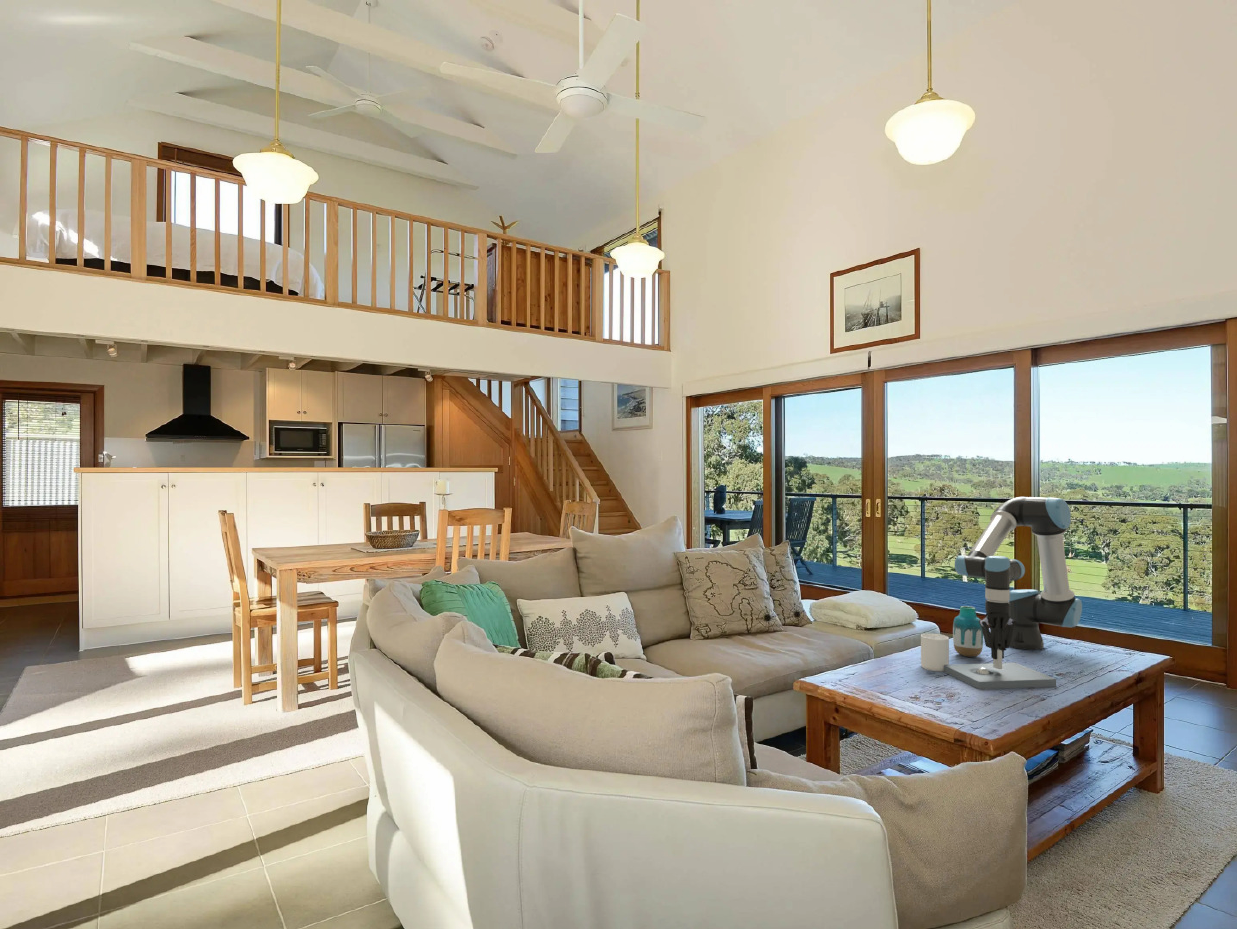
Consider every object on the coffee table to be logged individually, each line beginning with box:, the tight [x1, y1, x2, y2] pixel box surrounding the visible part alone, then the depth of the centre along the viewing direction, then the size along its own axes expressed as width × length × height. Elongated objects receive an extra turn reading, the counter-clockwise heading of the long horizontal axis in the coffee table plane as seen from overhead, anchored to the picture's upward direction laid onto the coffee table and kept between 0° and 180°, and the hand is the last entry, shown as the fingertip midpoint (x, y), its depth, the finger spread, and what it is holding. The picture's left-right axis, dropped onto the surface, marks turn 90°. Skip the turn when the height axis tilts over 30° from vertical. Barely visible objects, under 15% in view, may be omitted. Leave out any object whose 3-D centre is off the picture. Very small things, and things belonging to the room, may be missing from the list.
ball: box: [977, 668, 989, 675], centre depth 239 cm, size 4×4×4 cm
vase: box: [952, 605, 984, 658], centre depth 269 cm, size 11×11×19 cm
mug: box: [920, 633, 950, 672], centre depth 254 cm, size 10×12×12 cm
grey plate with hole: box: [943, 662, 1057, 690], centre depth 239 cm, size 28×20×2 cm
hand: (997, 668), depth 239 cm, fingers closed
